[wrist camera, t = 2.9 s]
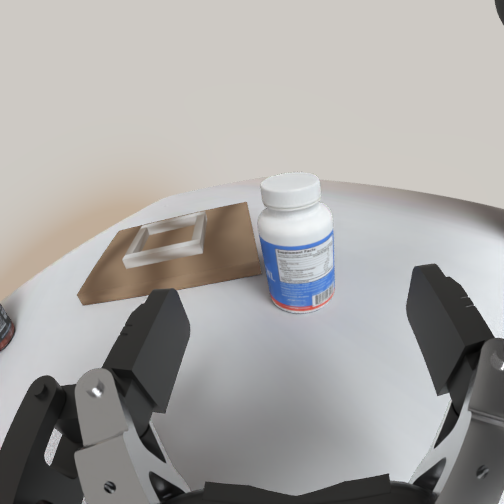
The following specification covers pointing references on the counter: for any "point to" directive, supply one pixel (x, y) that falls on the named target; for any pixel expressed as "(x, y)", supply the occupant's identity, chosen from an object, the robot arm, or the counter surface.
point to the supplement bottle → (5, 328)
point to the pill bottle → (297, 242)
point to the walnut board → (175, 255)
